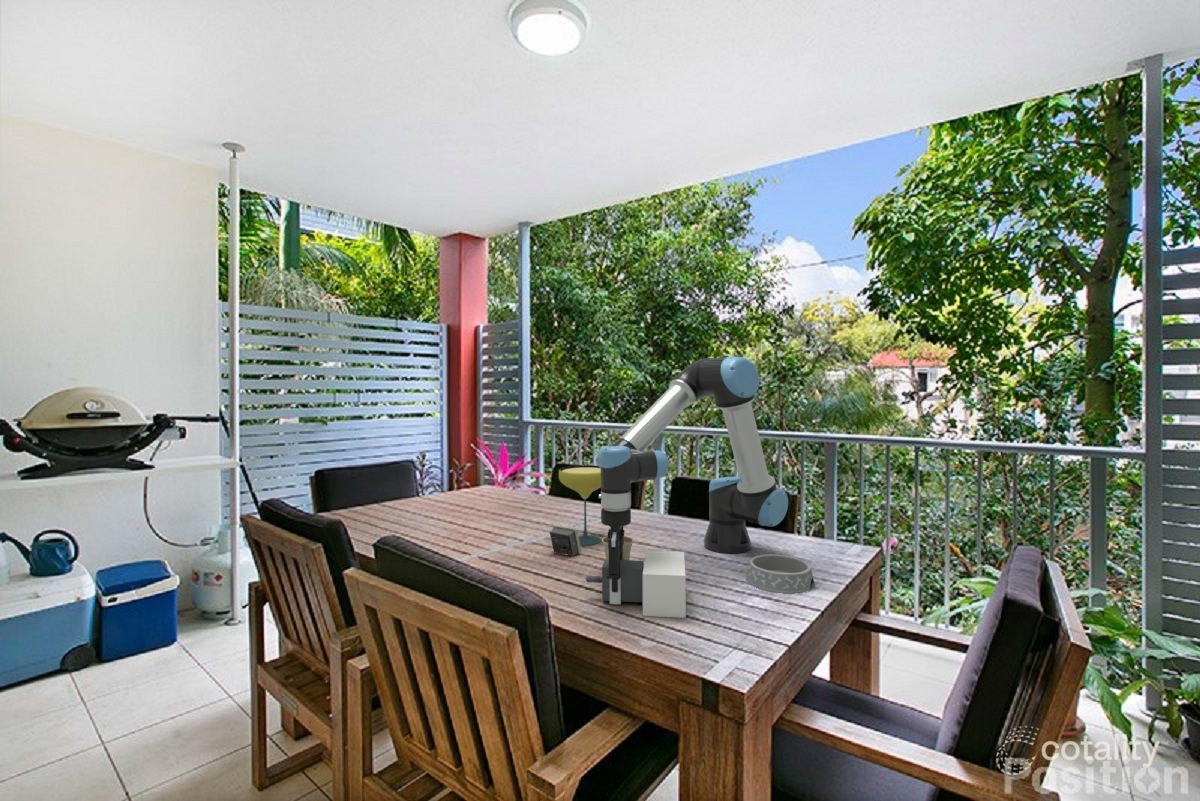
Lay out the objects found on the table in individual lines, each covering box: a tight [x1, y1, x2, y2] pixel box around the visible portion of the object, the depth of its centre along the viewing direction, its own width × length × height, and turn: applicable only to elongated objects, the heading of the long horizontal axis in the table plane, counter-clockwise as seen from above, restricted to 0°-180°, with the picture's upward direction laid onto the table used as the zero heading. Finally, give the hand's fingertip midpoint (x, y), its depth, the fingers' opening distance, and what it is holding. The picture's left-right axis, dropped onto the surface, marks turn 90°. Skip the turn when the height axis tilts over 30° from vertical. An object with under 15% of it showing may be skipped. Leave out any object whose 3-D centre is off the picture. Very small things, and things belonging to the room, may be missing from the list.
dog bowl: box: [745, 553, 815, 595], centre depth 152 cm, size 17×18×5 cm
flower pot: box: [601, 535, 635, 560], centre depth 163 cm, size 9×9×9 cm
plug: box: [585, 559, 644, 603], centre depth 140 cm, size 20×6×8 cm, turn 83°
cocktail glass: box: [558, 464, 602, 546], centre depth 191 cm, size 18×18×25 cm
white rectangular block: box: [642, 550, 687, 619], centre depth 139 cm, size 10×18×10 cm, turn 173°
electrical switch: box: [549, 524, 582, 557], centre depth 177 cm, size 9×5×9 cm, turn 57°
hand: (616, 598), depth 140 cm, fingers closed on plug, 6 cm apart
